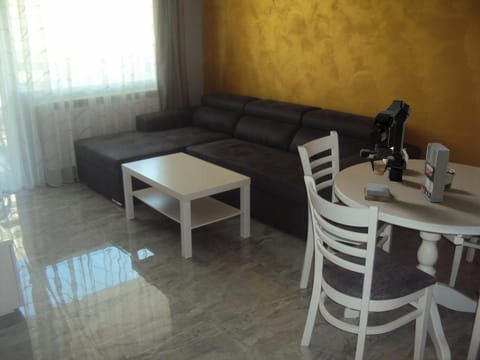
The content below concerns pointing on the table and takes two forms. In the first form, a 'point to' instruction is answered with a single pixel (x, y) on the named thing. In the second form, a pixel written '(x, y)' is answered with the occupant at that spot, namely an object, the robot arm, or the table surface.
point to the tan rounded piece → (379, 168)
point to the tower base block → (380, 198)
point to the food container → (449, 178)
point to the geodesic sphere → (404, 153)
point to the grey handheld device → (435, 172)
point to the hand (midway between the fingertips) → (379, 171)
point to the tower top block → (378, 190)
